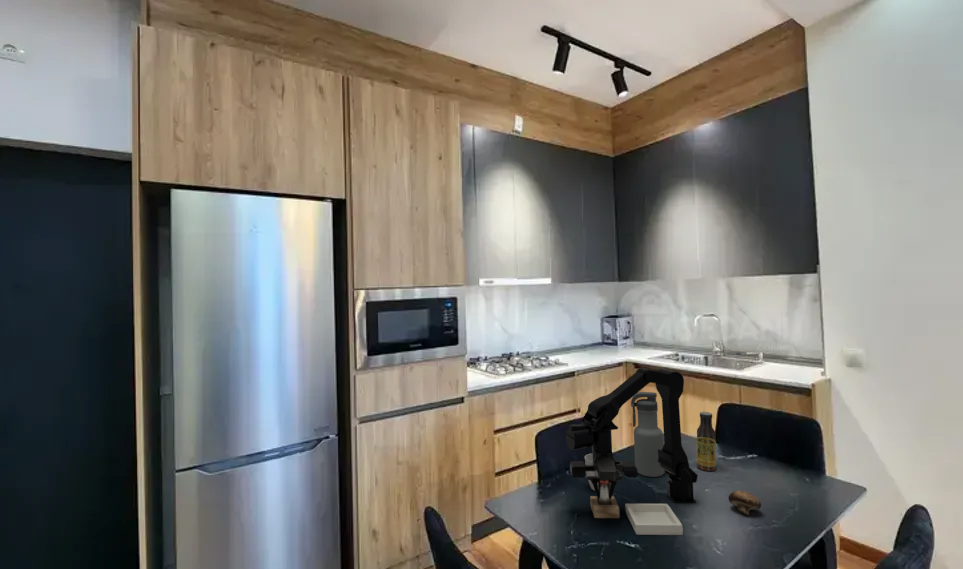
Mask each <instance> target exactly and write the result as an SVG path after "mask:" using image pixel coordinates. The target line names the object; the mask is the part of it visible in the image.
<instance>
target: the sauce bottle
mask: <svg viewBox="0 0 963 569" xmlns="http://www.w3.org/2000/svg"><path fill="white" fill-rule="evenodd" d="M699 417H700V423H699V426H698V428H697V429H696V467H697V468H698V469H700V470H702V471H707V472H713V471H715V470H716V468H717V467H716V466H717V439H716V436H717V435H716V430H714V427H713V424H712V423H713V413H711V412H709V411H700V412H699Z"/></svg>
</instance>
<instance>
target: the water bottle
mask: <svg viewBox="0 0 963 569" xmlns="http://www.w3.org/2000/svg"><path fill="white" fill-rule="evenodd" d="M657 396H658V394H657V393H656V392H652V391H651V392H650V391H648V392H647V391H639V392H638V393H637V394H635V395H634V396H633V397H632V398H631V399H630V400H631V401H630V406H631V408H632V427H633V428H634V429H633V445H634V465H635V466H636V468H637V471H638V474H639V475H641V476H644V477H649V478H658V477H661V476H663V475H664V474H665V471H664V469H663V468H662V467H661V466H660V463H659V462H658V449H662V448H663V446H664V431H663V430H662V429H661V428H659V426H658V407H659V406H658V402H657V398H658V397H657ZM637 399H638V400H637ZM636 410H637V416H636ZM636 418H637V419H636ZM636 423H637V424H636ZM636 425H637V426H636Z"/></svg>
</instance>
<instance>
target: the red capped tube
mask: <svg viewBox="0 0 963 569" xmlns="http://www.w3.org/2000/svg"><path fill="white" fill-rule="evenodd" d="M597 482H598V488H599V505H610V500H609V483H610V480H604V481H602V480H600V479H599V478H598V476H597Z"/></svg>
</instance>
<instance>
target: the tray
mask: <svg viewBox="0 0 963 569" xmlns="http://www.w3.org/2000/svg"><path fill="white" fill-rule="evenodd" d="M624 504H625V506H624V510H625V514H626V516H627V519H628V520H629V522H630V525H631V526H632V528H633V531H634V533H635V534H636V535H637V536H638V535H639V536H641V535H643V536H645V535H647V536H648V535H653V536H655V535H656V536H665V535H666V536H683V535H684V534H683V533H684V530H683V527H684V526H683V524H682V523H681V522H680V521H681V520H679V518H678V517H677V515H676V514H675V512H674V511H673V510H672V508H671V507H670V505H669V504H668V503H624Z"/></svg>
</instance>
